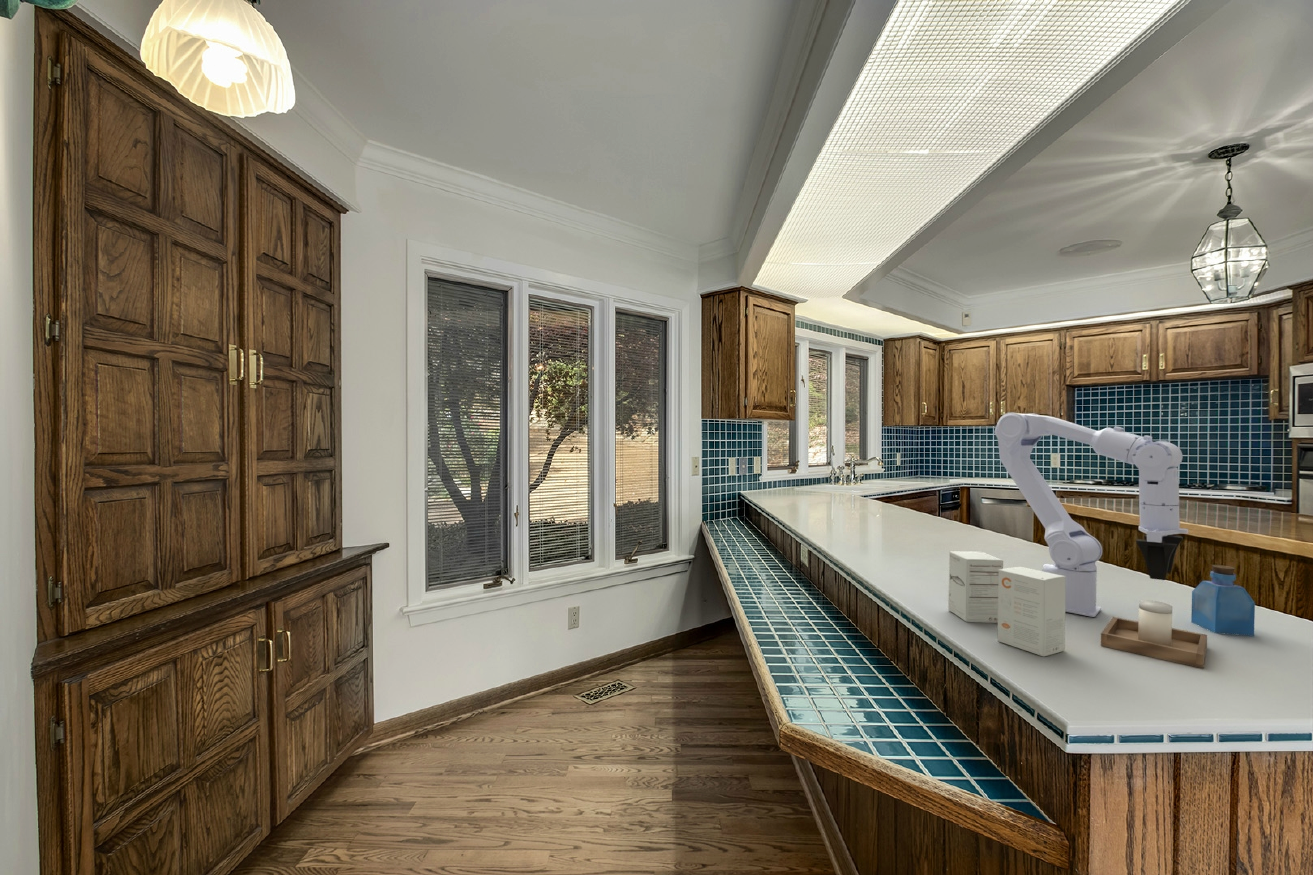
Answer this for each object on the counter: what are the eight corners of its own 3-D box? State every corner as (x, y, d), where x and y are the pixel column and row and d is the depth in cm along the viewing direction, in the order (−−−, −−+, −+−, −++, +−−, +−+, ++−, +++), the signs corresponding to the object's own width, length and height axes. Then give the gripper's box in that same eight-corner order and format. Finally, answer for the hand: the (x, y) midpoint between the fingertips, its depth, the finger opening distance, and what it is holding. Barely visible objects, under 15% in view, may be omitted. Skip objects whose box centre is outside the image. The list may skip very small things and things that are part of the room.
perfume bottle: (1254, 635, 106) (1255, 571, 106) (1214, 633, 107) (1216, 569, 107) (1228, 624, 112) (1229, 563, 112) (1191, 622, 113) (1192, 562, 113)
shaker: (1136, 643, 100) (1137, 603, 100) (1139, 636, 103) (1140, 598, 103) (1170, 650, 97) (1171, 610, 97) (1172, 643, 100) (1173, 604, 100)
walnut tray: (1100, 645, 100) (1101, 633, 100) (1112, 628, 109) (1113, 616, 109) (1202, 668, 91) (1203, 654, 91) (1206, 647, 100) (1207, 634, 100)
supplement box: (947, 610, 119) (948, 550, 119) (983, 611, 119) (984, 551, 119) (964, 622, 112) (966, 558, 112) (1003, 623, 112) (1004, 559, 111)
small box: (1065, 651, 98) (1067, 575, 97) (1043, 657, 95) (1044, 579, 95) (1018, 635, 105) (1019, 565, 105) (996, 641, 102) (997, 568, 102)
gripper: (1183, 509, 101) (1184, 586, 101) (1191, 502, 110) (1193, 573, 110) (1131, 506, 106) (1133, 579, 106) (1144, 500, 116) (1145, 567, 116)
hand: (1160, 575), depth 108 cm, fingers open, 7 cm apart
